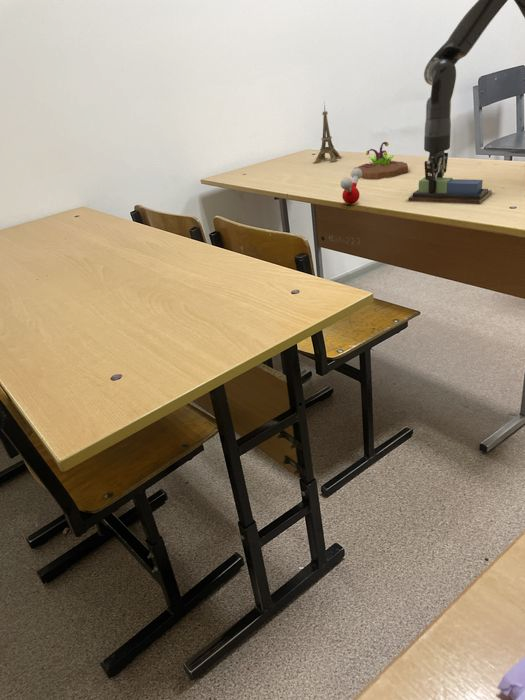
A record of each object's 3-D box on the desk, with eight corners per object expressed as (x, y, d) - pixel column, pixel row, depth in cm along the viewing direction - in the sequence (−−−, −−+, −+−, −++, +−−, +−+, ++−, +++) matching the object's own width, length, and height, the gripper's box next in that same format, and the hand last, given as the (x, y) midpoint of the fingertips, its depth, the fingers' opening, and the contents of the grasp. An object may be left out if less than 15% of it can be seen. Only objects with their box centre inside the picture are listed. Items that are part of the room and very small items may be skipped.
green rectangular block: (452, 190, 168) (452, 177, 166) (446, 194, 164) (447, 181, 162) (424, 189, 173) (424, 177, 171) (418, 193, 169) (418, 180, 167)
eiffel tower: (341, 157, 249) (338, 99, 236) (336, 162, 240) (332, 101, 228) (320, 158, 253) (316, 101, 240) (313, 163, 244) (309, 104, 232)
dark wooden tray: (491, 193, 164) (492, 187, 163) (479, 204, 156) (479, 197, 155) (422, 191, 177) (422, 185, 176) (408, 201, 169) (408, 194, 168)
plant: (417, 171, 203) (418, 140, 198) (372, 181, 199) (371, 149, 193) (390, 164, 220) (390, 136, 215) (348, 173, 216) (346, 144, 210)
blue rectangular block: (481, 193, 163) (482, 179, 161) (476, 197, 159) (477, 183, 157) (452, 192, 168) (453, 179, 166) (446, 196, 164) (447, 183, 162)
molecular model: (357, 210, 166) (356, 178, 161) (338, 211, 168) (337, 179, 163) (363, 196, 181) (362, 166, 176) (346, 197, 182) (345, 167, 178)
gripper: (441, 137, 153) (438, 196, 161) (458, 128, 163) (455, 185, 171) (416, 138, 157) (415, 195, 165) (434, 129, 167) (432, 184, 175)
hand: (435, 190), depth 168 cm, fingers closed on green rectangular block, 5 cm apart
